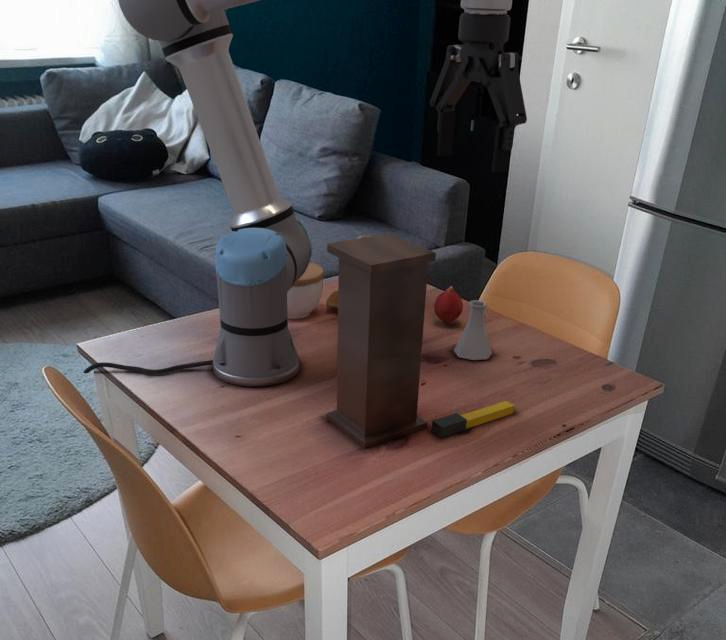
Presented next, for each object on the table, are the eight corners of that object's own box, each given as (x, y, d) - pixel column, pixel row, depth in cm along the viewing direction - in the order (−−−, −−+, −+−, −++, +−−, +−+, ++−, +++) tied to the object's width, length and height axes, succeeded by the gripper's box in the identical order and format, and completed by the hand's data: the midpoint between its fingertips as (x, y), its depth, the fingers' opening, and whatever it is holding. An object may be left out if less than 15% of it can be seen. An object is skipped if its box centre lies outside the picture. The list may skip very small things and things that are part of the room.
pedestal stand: (386, 400, 134) (394, 231, 119) (427, 428, 127) (441, 251, 111) (326, 418, 128) (326, 243, 113) (365, 448, 121) (371, 265, 105)
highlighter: (503, 407, 133) (505, 397, 132) (514, 414, 131) (516, 403, 130) (430, 431, 126) (431, 420, 125) (441, 438, 124) (442, 427, 123)
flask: (491, 347, 154) (497, 297, 149) (492, 362, 148) (499, 311, 143) (453, 344, 155) (458, 295, 149) (453, 360, 149) (458, 308, 143)
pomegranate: (427, 324, 163) (430, 286, 158) (441, 316, 167) (444, 279, 162) (452, 331, 160) (456, 293, 156) (466, 323, 164) (470, 285, 160)
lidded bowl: (336, 313, 166) (336, 261, 160) (289, 329, 159) (288, 274, 153) (297, 297, 174) (296, 247, 168) (250, 311, 166) (248, 258, 160)
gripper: (565, 17, 112) (542, 175, 123) (451, 7, 129) (440, 147, 140) (526, 18, 108) (506, 181, 120) (414, 7, 125) (406, 150, 137)
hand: (470, 163), depth 130 cm, fingers open, 13 cm apart
